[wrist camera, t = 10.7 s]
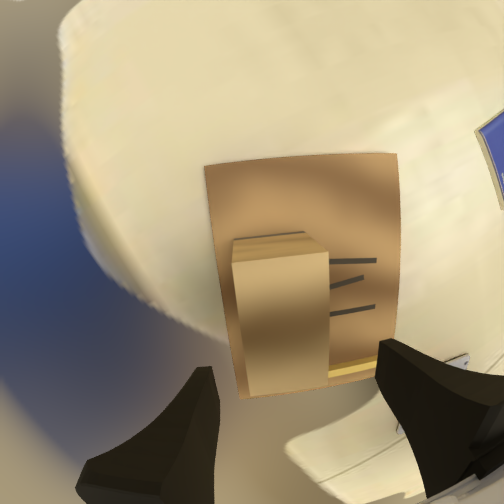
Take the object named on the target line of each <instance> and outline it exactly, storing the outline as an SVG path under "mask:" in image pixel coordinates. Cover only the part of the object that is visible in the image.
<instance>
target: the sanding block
mask: <svg viewBox="0 0 504 504" xmlns="http://www.w3.org/2000/svg"><path fill="white" fill-rule="evenodd" d="M232 270H233V278H234V286H235V293H236V301H237V308H238V315H239V323H240V330H241V337H242V344H243V351H244V358H245V364H246V371H247V378H248V384H249V391H250V396H259V395H268V394H276V393H284V392H291V391H298V390H304V389H310V388H316V387H321V386H327V385H328V369H329V332H330V289H329V252H328V251H327V250H326V249H325V248H323V247H322V246H321V245H320V244H319V243H318V242H316V241H315V240H314V239H313V238H312V237H310V236H309V235H308V234H307V233H306V232H304V231H299V232H290V233H280V234H271V235H262V236H253V237H244V238H235V239H234V242H233V252H232Z"/></svg>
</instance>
